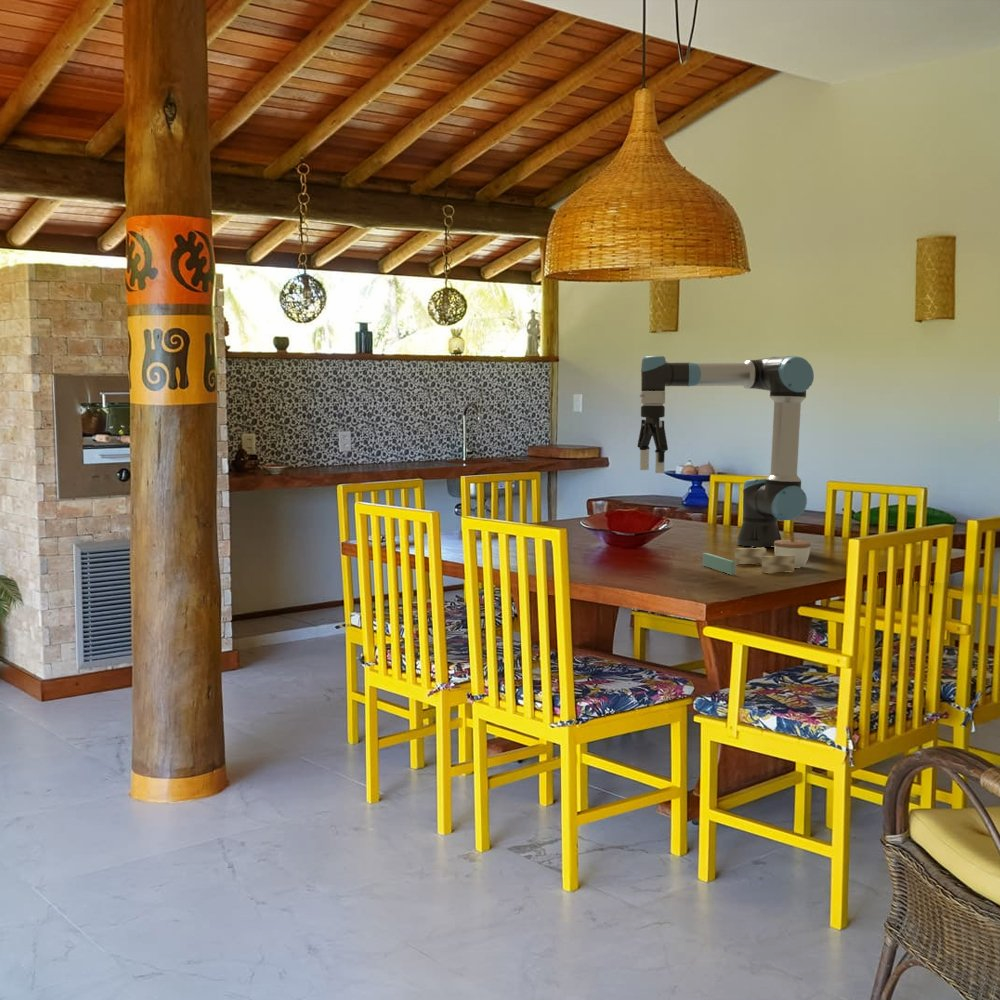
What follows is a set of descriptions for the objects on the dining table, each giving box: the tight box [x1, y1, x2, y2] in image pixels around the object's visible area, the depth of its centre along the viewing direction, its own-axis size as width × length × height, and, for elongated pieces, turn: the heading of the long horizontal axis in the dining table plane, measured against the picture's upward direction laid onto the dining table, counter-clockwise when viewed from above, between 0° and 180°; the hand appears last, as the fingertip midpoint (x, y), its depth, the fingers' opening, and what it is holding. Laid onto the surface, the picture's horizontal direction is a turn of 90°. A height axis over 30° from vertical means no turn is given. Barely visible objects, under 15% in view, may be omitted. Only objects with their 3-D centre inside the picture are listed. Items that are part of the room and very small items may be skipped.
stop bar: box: [701, 552, 736, 576], centre depth 348 cm, size 2×18×4 cm, turn 17°
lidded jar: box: [774, 536, 811, 568], centre depth 355 cm, size 11×11×9 cm
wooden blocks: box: [734, 547, 795, 574], centre depth 352 cm, size 10×18×5 cm, turn 17°
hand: (651, 471), depth 373 cm, fingers open, 13 cm apart
